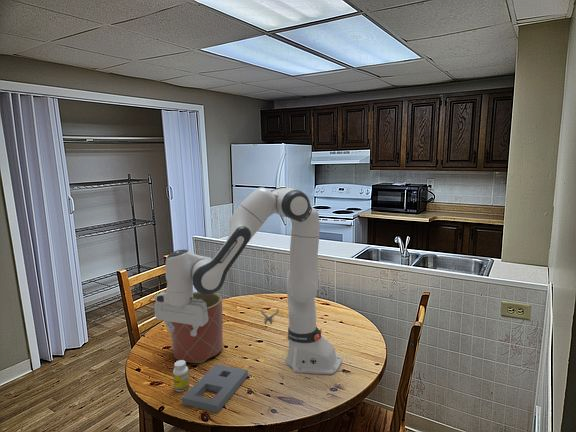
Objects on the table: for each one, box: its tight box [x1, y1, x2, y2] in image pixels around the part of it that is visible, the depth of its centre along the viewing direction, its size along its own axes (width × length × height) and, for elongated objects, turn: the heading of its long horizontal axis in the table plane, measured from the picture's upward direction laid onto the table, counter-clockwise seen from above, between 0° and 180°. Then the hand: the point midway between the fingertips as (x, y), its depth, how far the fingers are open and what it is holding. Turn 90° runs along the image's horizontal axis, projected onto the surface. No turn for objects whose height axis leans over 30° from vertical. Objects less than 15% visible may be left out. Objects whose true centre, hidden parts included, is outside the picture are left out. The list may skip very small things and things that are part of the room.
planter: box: [170, 291, 224, 364], centre depth 158 cm, size 23×23×24 cm
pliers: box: [260, 308, 279, 325], centre depth 195 cm, size 10×1×20 cm
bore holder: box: [181, 363, 249, 414], centre depth 132 cm, size 14×22×2 cm, turn 160°
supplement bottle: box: [172, 360, 190, 392], centre depth 134 cm, size 5×5×10 cm
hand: (182, 333), depth 129 cm, fingers open, 8 cm apart
